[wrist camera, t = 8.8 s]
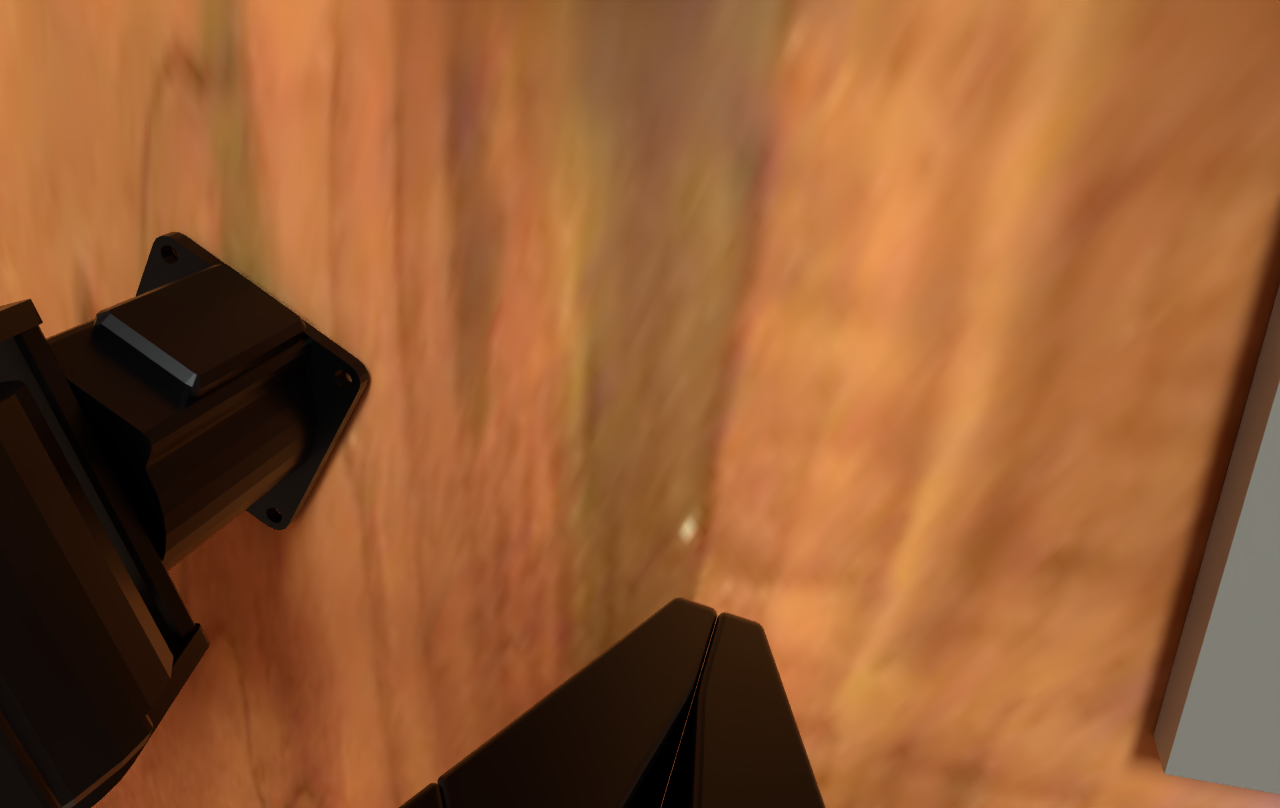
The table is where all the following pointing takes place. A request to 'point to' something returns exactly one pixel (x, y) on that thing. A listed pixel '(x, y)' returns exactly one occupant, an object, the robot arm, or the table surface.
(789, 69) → the table surface
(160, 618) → the robot arm
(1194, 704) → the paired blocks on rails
